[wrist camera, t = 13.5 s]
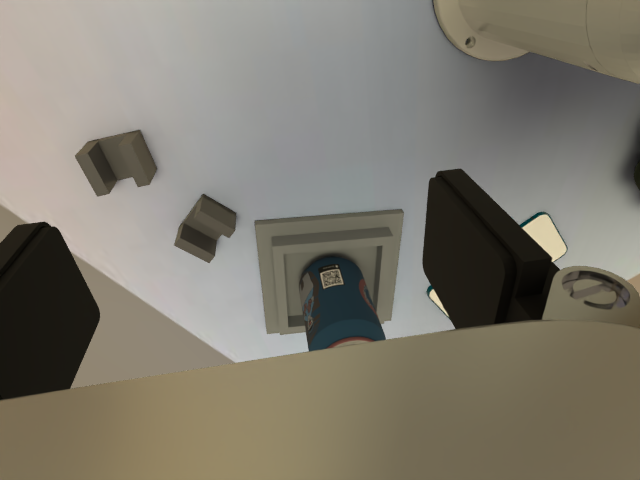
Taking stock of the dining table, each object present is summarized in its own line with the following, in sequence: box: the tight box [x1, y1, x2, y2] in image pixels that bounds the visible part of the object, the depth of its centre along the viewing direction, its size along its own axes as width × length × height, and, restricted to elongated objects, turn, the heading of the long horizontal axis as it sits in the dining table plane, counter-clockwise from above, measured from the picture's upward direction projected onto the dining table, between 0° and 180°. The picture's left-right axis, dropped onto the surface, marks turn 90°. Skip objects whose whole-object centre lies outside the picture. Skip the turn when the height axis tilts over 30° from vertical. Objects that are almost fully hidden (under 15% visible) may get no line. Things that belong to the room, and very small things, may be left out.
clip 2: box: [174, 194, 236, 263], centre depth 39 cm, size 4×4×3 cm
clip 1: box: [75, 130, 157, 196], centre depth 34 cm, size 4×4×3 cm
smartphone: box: [427, 212, 567, 319], centre depth 49 cm, size 8×1×16 cm
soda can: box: [299, 256, 386, 351], centre depth 40 cm, size 7×7×12 cm
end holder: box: [255, 209, 404, 335], centre depth 45 cm, size 15×15×3 cm
